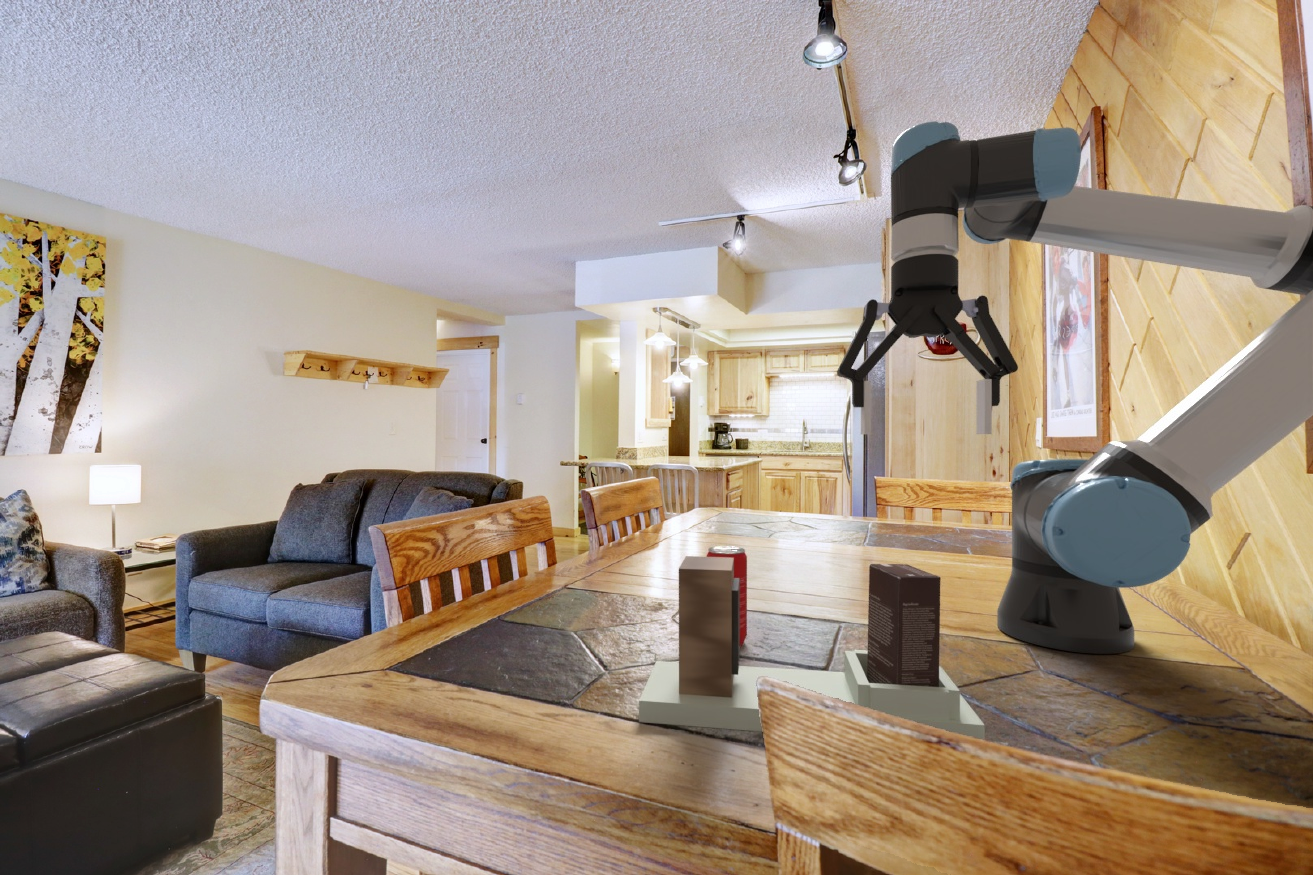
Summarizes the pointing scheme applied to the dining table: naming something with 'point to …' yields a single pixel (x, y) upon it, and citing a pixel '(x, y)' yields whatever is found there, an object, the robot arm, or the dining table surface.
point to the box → (903, 626)
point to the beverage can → (739, 572)
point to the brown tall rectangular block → (708, 626)
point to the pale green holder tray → (851, 686)
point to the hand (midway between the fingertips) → (923, 434)
